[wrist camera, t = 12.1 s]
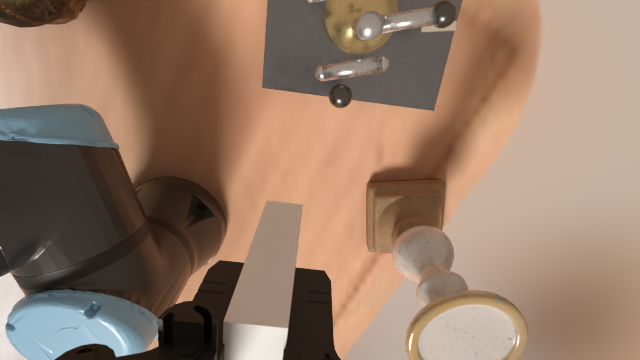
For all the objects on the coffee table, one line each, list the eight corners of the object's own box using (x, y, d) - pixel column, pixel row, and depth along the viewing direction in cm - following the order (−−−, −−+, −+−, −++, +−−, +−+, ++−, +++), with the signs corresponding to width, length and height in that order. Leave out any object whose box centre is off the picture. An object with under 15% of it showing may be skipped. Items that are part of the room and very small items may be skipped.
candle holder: (366, 182, 48) (404, 295, 26) (441, 178, 48) (546, 289, 26) (366, 246, 52) (400, 392, 30) (436, 243, 52) (522, 387, 30)
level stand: (264, 86, 43) (259, 89, 39) (274, -59, 37) (269, -72, 34) (429, 108, 44) (439, 113, 40) (463, -30, 38) (479, -39, 35)
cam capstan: (431, 83, 41) (460, 92, 33) (320, 100, 42) (320, 112, 33) (428, -55, 36) (462, -87, 27) (301, -33, 36) (295, -57, 28)
